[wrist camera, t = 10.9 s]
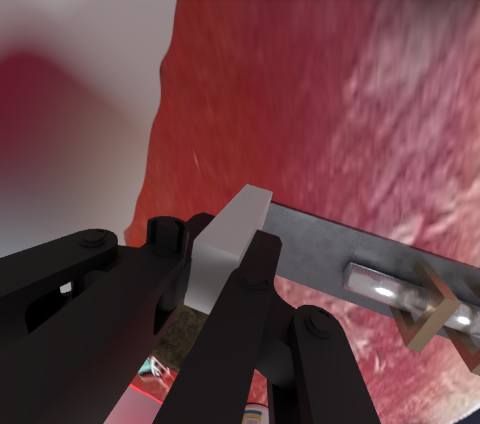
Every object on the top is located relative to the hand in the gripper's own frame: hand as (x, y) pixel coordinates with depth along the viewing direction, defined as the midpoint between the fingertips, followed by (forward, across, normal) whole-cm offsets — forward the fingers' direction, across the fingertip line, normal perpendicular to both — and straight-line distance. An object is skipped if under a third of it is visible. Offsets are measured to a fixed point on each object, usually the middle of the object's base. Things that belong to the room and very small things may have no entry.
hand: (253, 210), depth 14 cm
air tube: (+28, +26, -18) cm, 42 cm away
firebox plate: (+29, +19, -17) cm, 39 cm away
